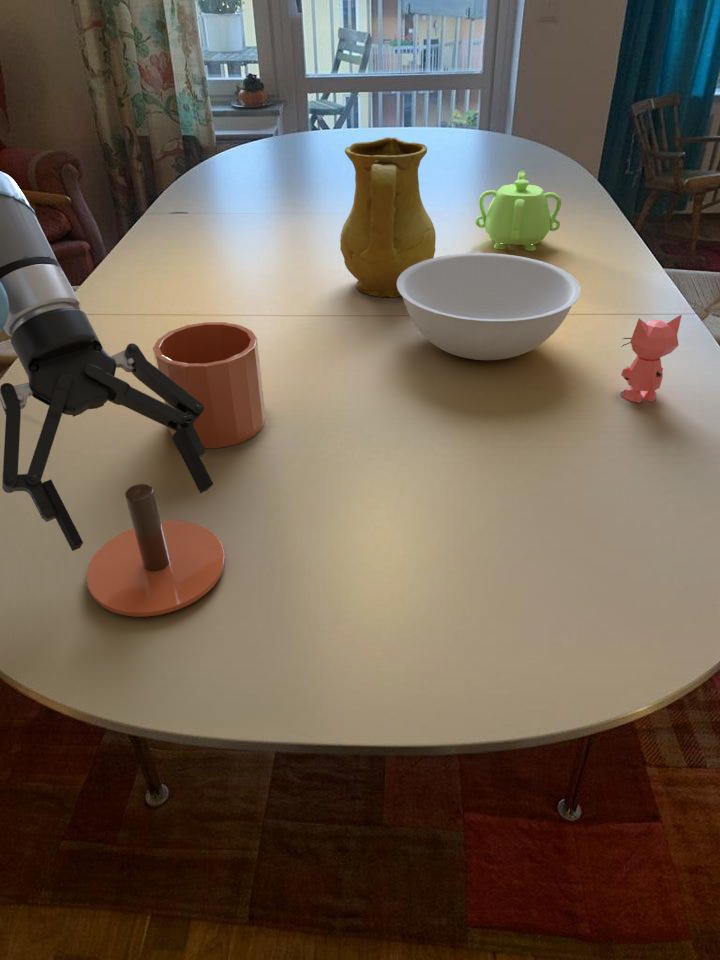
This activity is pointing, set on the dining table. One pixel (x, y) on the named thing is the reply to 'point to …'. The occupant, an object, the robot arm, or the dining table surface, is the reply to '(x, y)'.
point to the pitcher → (386, 215)
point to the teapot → (518, 214)
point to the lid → (154, 562)
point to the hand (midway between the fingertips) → (145, 516)
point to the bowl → (487, 303)
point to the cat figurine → (649, 357)
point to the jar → (216, 378)
